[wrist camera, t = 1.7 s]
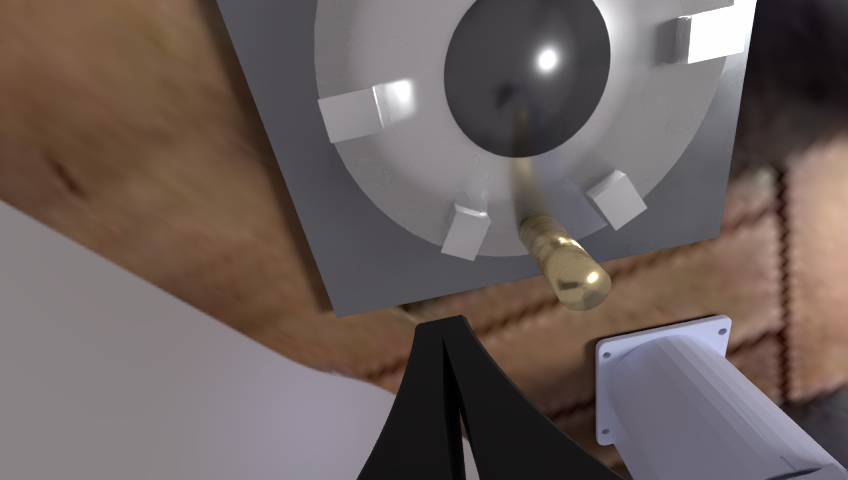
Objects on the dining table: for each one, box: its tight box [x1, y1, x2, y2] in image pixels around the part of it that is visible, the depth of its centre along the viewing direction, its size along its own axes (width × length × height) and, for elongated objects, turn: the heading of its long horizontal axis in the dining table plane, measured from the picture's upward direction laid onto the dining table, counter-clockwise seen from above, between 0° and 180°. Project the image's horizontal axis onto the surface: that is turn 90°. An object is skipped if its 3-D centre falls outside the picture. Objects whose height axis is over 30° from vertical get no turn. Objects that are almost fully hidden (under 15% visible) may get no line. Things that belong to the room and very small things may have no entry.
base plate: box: [216, 0, 756, 318], centre depth 16 cm, size 20×20×1 cm
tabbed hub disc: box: [314, 0, 750, 311], centre depth 12 cm, size 14×14×7 cm
